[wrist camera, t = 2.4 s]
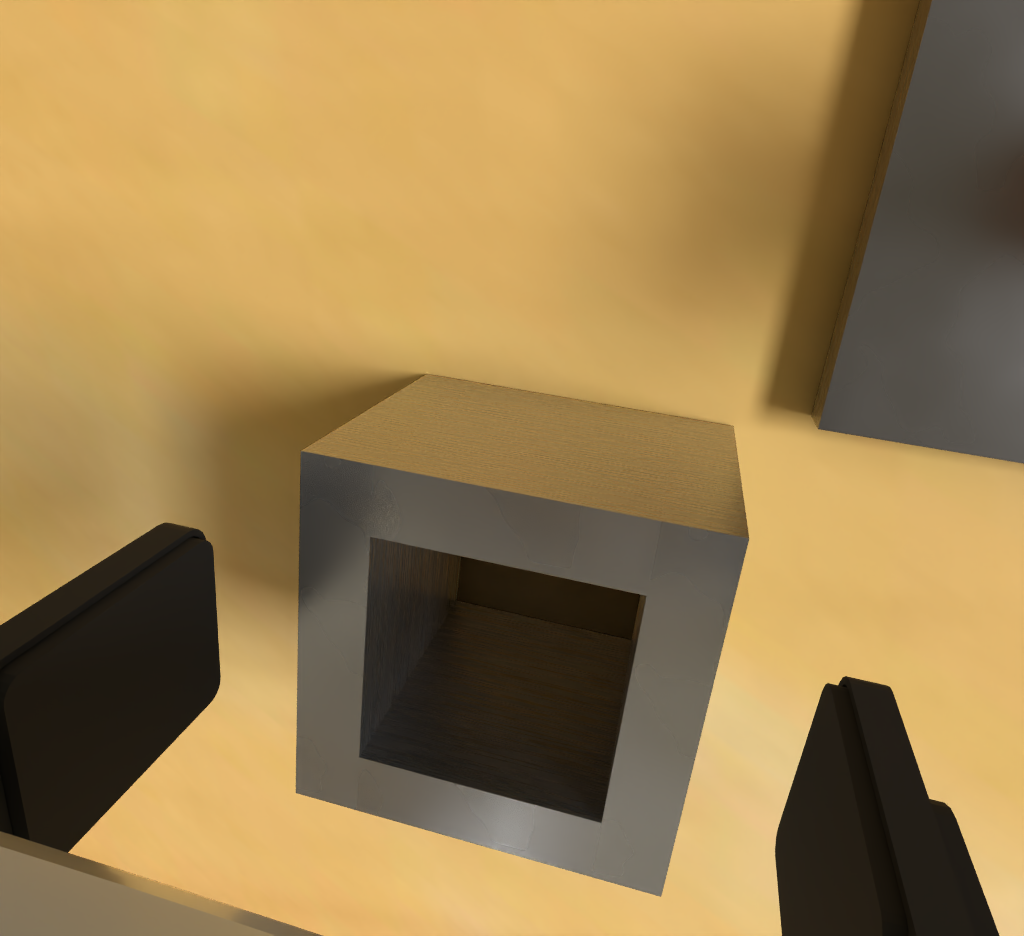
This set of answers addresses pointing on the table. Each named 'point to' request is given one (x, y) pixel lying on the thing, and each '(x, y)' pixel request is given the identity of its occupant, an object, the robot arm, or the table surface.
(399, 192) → the table surface
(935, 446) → the post
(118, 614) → the robot arm
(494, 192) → the table surface
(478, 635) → the grey square open box
